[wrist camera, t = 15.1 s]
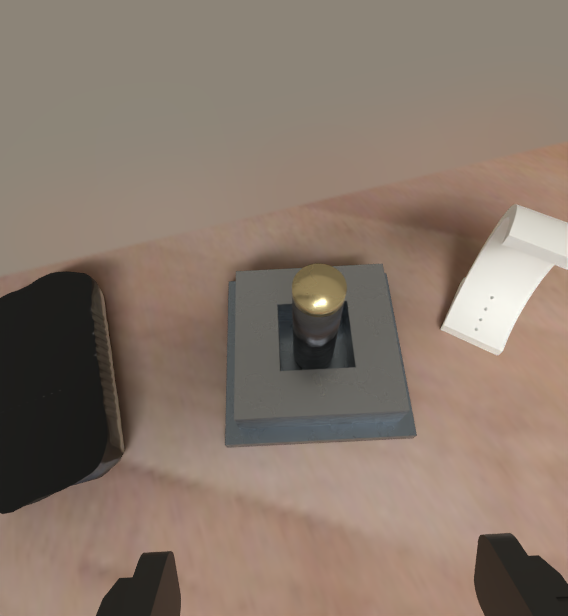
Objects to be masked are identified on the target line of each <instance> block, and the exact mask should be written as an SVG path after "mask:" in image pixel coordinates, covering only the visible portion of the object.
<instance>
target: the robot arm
mask: <svg viewBox="0 0 568 616" xmlns="http://www.w3.org/2000/svg"><path fill="white" fill-rule="evenodd" d="M474 585H475V591H476V595H477V598H478V601H479V604H480V606H481V609H482V611H483V613H484V615H485V616H568V584H567V582H566V581H565V580H564V578H563V577H562V575H561V574H560V573H559V572H558V571H556V570H555V569H554V568H553V567H552V566H550V565H549V564H548V563H547V562H546V561H545V560H543V559H542V558H541V557H540V556H539V555H538V556H528V555H527V553H526V552H525V550H524V549H523V547H522V546H521V544H520V543H519V542H518V540H517V539H516V537H515V536H514V535H512V534H511V533H502V534H485V535H480V536H479V539H478V547H477V556H476V565H475V574H474ZM180 609H181V594H180V588H179V582H178V576H177V570H176V565H175V559H174V554H173V552H172V551H167V552H149V553H143V554H142V555H141V557H140V559H139V561H138V564H137V567H136V569H135V572H134V575H133V577H131V578H119V579H118V581H117V582H116V583H115V584H114V586H113V587H112V588H111V589H110V590H109V592H108V593H107V594H106V595H105V597H104V598H103V600H102V602H101V605H100V607H99V610H98V612H97V614H96V616H180Z"/></svg>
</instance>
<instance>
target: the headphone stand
mask: <svg viewBox="0 0 568 616" xmlns="http://www.w3.org/2000/svg"><path fill="white" fill-rule="evenodd" d="M554 265H556V266H559V267H562V268H564V269H567V270H568V223H567V222H565V221H562V220H559V219H556V218H553V217H551V216H548V215H545V214H542V213H539V212H537V211H534V210H531V209H528V208H526V207H523V206H520V205H517V204H514V205H512V206H511V207H510V208H509V209H508V210H507V212H506V213H505V214H504V215H503V217H502V218H501V219H500V221H499V222H498V224H497V225H496V227H495V228H494V230H493V231H492V233H491V234H490V236H489V238H488V239H487V241H486V242H485V244H484V246H483V247H482V249H481V251H480V252H479V254H478V256H477V258H476V259H475V261H474V263H473V265H472V267H471V268H470V270H469V272H468V274H467V276H466V278H465V277H464V278H463V280H462V281H461V283H460V285H459V287H458V290H457V292H456V294H455V297H454V299H453V301H452V304H451V306H450V308H449V310H448V313H447V315H446V317H445V320H444V322H443V324H442V326H441V329H440V330H442V331H445V332H447V333H449V334H451V335H453V336H455V337H458V338H460V339H462V340H464V341H466V342H469V343H471V344H473V345H475V346H477V347H480V348H482V349H484V350H486V351H488V352H491V353H493V354H495V355H497V356H498V355H499V354H500V353H502V352H503V349H504V346H505V344H506V341H507V339H508V337H509V334H510V332H511V330H512V328H513V326H514V324H515V322H516V320H517V318H518V316H519V315H520V313H521V311H522V309H523V308H524V306H525V304H526V302H527V301H528V299H529V298H530V296H531V295H532V293H533V292H534V290H535V289H536V287H537V286H538V285H539V283H540V282H541V280H542V279H543V278H544V277H545V275H546V274H547V273H548V272H549V270H550V269H551V268H552V267H553V266H554Z"/></svg>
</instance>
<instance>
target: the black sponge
mask: <svg viewBox="0 0 568 616" xmlns="http://www.w3.org/2000/svg"><path fill="white" fill-rule="evenodd" d="M118 405H119V401H118V396H117V389H116V384H115V376H114V369H113V361H112V351H111V345H110V338H109V331H108V323H107V319H106V308H105V301H104V297H103V294H102V292H101V290H100V288H99V286H98V284H97V282H96V281H95V280H93V279H92V278H91V277H90V276H89V275H87V274H85V273H77V272H55V273H51V274H48V275H46V276H44V277H41V278H39V279H38V280H36V281H35V282H33V283H32V284H30V285H29V286H27V287H24V288H22V289H20V290H18V291H15V292H12V293H9V294H7V295H5V296H3V297H1V298H0V513H2V514H5V513H10V512H14V511H15V510H17V509H19V508H21V507H23V506H26V505H29V504H32V503H35V502H38V501H40V500H42V499H44V498H46V497H48V496H50V495H52V494H54V493H56V492H59V491H61V490H63V489H65V488H67V487H69V486H72V485H75V484H79V483H83V482H86V481H90V480H93V479H97V478H100V477H102V476H103V475H104V474H106V473H107V472H108V471H109V470H110V469H111V468H112V467H113V466H115V465H116V464H117V463H118V462H119V461H120V459H121V457H122V455H123V453H124V444H123V434H122V428H121V418H120V410H119V406H118Z"/></svg>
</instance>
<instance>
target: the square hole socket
mask: <svg viewBox="0 0 568 616" xmlns="http://www.w3.org/2000/svg"><path fill="white" fill-rule="evenodd" d="M332 267H334V268H336V269H337V270H338V271H340V272H341V274H342V275H343V276H344V278H345V280H346V284H347V292H346V296H345V301H344V306H343V311H342V315H341V320H340V325H339V330H338V334H337V339H336V344H335V349H334V354H333V358H332V360H331V362H330V363H329V365H328V366H327V367H325V368H323V369H313V370H306V369H304V368H302V367H301V366H300V365H298V363H297V362H296V360H295V358H294V355H293V313H292V282H293V279H294V277H295V275H296V274H297V273H298V271H300V270H301V269H302V268H291V269H272V270H254V271H236V281H231V282H229V297H228V342H227V386H226V431H225V445H226V446H227V447H247V446H267V445H287V444H306V443H326V442H346V441H366V440H386V439H406V438H414V437H415V436H417V434H416V429H415V424H414V418H413V413H412V408H411V402H410V397H409V392H408V386H407V381H406V376H405V370H404V365H403V360H402V354H401V349H400V344H399V339H398V333H397V328H396V323H395V317H394V312H393V307H392V301H391V296H390V291H389V285H388V280H387V275H386V273H384V269H383V264H367V265H348V266H332Z"/></svg>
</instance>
